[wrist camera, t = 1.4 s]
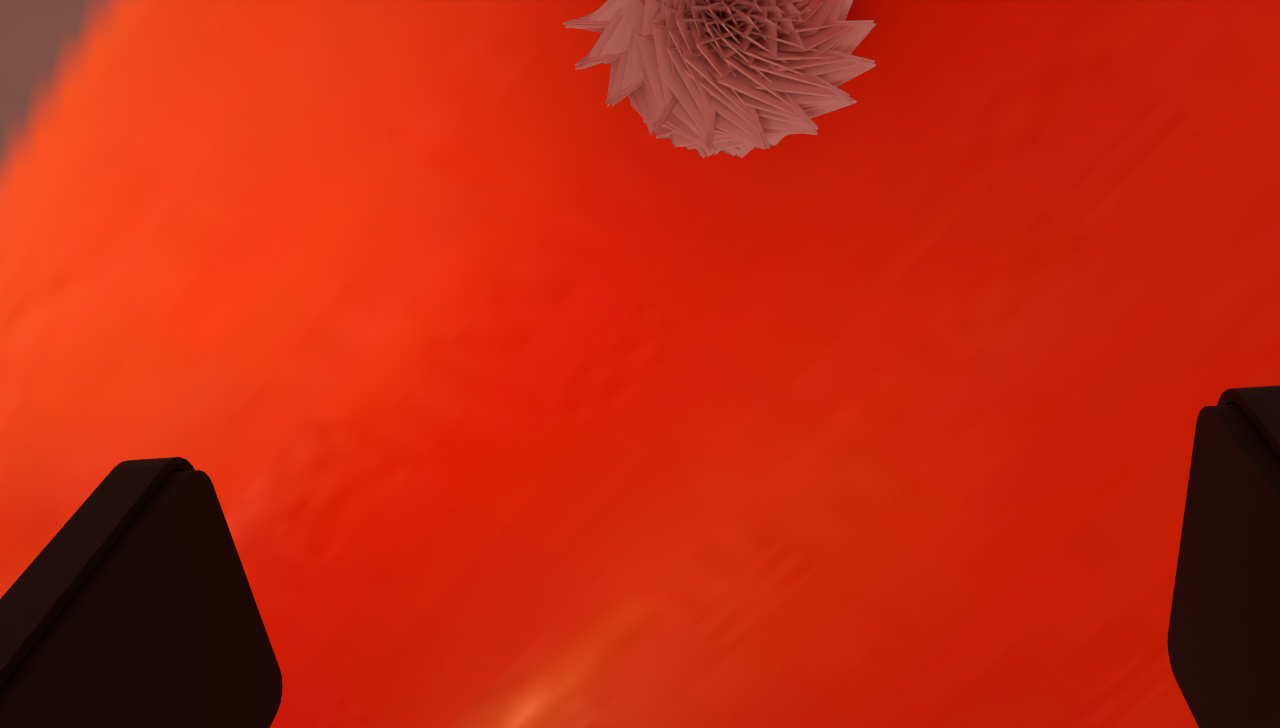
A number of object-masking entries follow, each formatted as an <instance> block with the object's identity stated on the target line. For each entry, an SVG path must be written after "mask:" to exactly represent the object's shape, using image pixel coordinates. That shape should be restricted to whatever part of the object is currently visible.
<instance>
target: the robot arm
mask: <svg viewBox="0 0 1280 728" xmlns="http://www.w3.org/2000/svg"><path fill="white" fill-rule="evenodd" d="M1168 653H1169V659H1170V664H1171V667H1172V671H1173V674H1174V676H1175V679H1176V681H1177V683H1178V685H1179V687H1180V689H1181V691H1182V694H1183V696H1184V698H1185V700H1186V702H1187V704H1188V706H1189V708H1190V710H1191V712H1192V714H1193V716H1194V718H1195V720H1196V723H1197V725H1198V727H1199V728H1280V386H1265V387H1250V388H1234V389H1227V390H1226V391H1225V392H1223V393H1222V395H1221V397H1220V399H1219V401H1218V405H1217V406H1206V407H1204V408H1202V409H1201V411H1200V413H1199V415H1198V419H1197V423H1196V430H1195V438H1194V445H1193V453H1192V460H1191V467H1190V475H1189V482H1188V490H1187V497H1186V504H1185V512H1184V519H1183V527H1182V534H1181V542H1180V549H1179V556H1178V564H1177V571H1176V579H1175V586H1174V593H1173V601H1172V608H1171V616H1170V623H1169V630H1168ZM281 697H282V676H281V672H280V668H279V665H278V663H277V660H276V657H275V654H274V652H273V649H272V646H271V643H270V641H269V638H268V635H267V632H266V630H265V627H264V624H263V621H262V619H261V616H260V613H259V610H258V608H257V605H256V602H255V599H254V597H253V594H252V591H251V588H250V586H249V583H248V580H247V577H246V575H245V572H244V569H243V566H242V564H241V561H240V558H239V555H238V553H237V550H236V547H235V544H234V542H233V539H232V536H231V533H230V531H229V528H228V525H227V522H226V520H225V517H224V514H223V511H222V509H221V506H220V503H219V500H218V498H217V495H216V492H215V489H214V487H213V484H212V482H211V480H210V478H209V476H208V475H207V474H206V473H205V472H203V471H200V470H196V471H195V470H194V468H193V466H192V465H191V464H190V463H189V462H188V461H187V460H186V459H183V458H181V457H173V458H158V459H142V460H129V461H124V462H121V463H120V464H118V465H117V466H116V467H115V468H114V469H113V470H112V471H111V472H110V473H109V474H108V476H107V477H106V478H105V479H104V480H103V481H102V482H101V484H100V485H99V486H98V487H97V488H96V489H95V491H94V492H93V493H92V494H91V495H90V496H89V497H88V499H87V500H86V501H85V502H84V503H83V504H82V506H81V507H80V508H79V509H78V510H77V511H76V512H75V514H74V515H73V516H72V517H71V518H70V519H69V521H68V522H67V523H66V524H65V525H64V526H63V527H62V529H61V530H60V531H59V532H58V533H57V534H56V536H55V537H54V538H53V539H52V540H51V541H50V542H49V544H48V545H47V546H46V547H45V548H44V549H43V550H42V552H41V553H40V554H39V555H38V556H37V557H36V559H35V560H34V561H33V562H32V563H31V564H30V565H29V567H28V568H27V569H26V570H25V571H24V572H23V574H22V575H21V576H20V577H19V578H18V579H17V580H16V582H15V583H14V584H13V585H12V586H11V587H10V589H9V590H8V591H7V592H6V593H5V594H4V595H3V597H2V598H1V599H0V728H270V726H271V724H272V722H273V720H274V718H275V715H276V713H277V711H278V708H279V706H280V702H281Z"/></svg>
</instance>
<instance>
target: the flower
mask: <svg viewBox="0 0 1280 728" xmlns="http://www.w3.org/2000/svg"><path fill="white" fill-rule="evenodd" d="M852 2H853V0H608V1H607V2H606V3H604V4H603V5H602V6H601V7H600V8H599V9H597V10H596V11H594V12H592V13H591V14H589V15H586V16H583V17H580V18H576V19H573V20H570V21H567V22H564V23H563V25H566V26H565V28H576V29H584V30H589V31H593V32H598V33H602V34H601V36H600V37H599V39H598V41H597V42H596V44H595V45H594V47H593V48H592V50H591V51H590V52H589V53H588V54H587V55H585V56H584V57H583V58H582V59H581V60H580V61H578V63H576V64H575V66H577V65H578V66H577V67H575V70H576V69H579V70H581V69H584V68H587V67H591V66H594V65H597V64H600V63H603V64H611V71H610V79H609V87H608V95H607V99H606V103H608V102H609V103H608V105H607V107H608V106H610V105H611V104H612V107H613V106H614V105H615V104H617V103H618V102H619V101H621V100H622V99H623V98H625V97H626V96H627V95H628V97H629V98H630V104H631V105H632V106H633V108H634V109H635V110H636V111H637V112H638V113H639V114H640V116H641V117H642V118H643V122H644V123H646V124H647V127H648V130H649V133H650V135H652V133H653V132H654V133H656V135H657V136H656V139H660V138H670V139H671V142H672V144H673V143H674V147H677V146H679V147H682V146H685V147H686V149H687V148H688V150H689V149H693V148H695V149H696V151H697V152H698V153H699V154H700V156H701V157H702V158H704V157H705V156H707V157H709V156H710V155H712V154H714V155H716V154H718V153H719V152H720V151H722V152H724V153H725V152H726V153H728V154H729V155H731V156H735V155H736V156H738V157H739V158H742V157H744V156H745V155H746V154H747V153H748V152H749V151H751V150H752V149H753V148H754V147H755V148H761V149H764V150H765V148H767V149H769V145H770V146H775V145H776V144H777V143H778V142H779V141H780V140H781V139H782V138H783V137H784V136H786V135H790V134H802V133H804V134H811V135H817V134H818V133H817V132H816V131H818V126H817V125H816V124H815V123H814V122H813V121H812V120H811V118H814V117H817V116H820V115H823V114H826V113H828V112H831V111H834V110H837V109H840V108H843V107H846V106H849V105H852V104H854V103H856V102H857V101H856V100H854V99H852V98H851V97H850V95H849V94H848V93H846V92H844V91H843V90H841V89H839V88H837V87H838V86H839V85H841V84H843V83H845V82H847V81H849V80H851V79H853V78H854V77H856V76H858V75H860V74H862V73H864V72H866V71H868V70H869V69H871V68H873V67H875V66H876V64H873V63H874V62H875V61H874V60H870V59H866V58H862V57H858V56H854V55H850V54H851V53H852V52H853V51H854V50H855V49H856V47H857V46H858V45H859V44H860V43H861V42H862V40H863V39H864V38H865V37H866V36H867V35H868V33H869V32H870V31H871V30H872V29H873V28H874V27H875V26H876V24H877V23H874V20H873V21H872V20H854V21H845V20H846V17H847V15H848V12H849V10H850V7H851V5H852ZM606 103H605V104H606Z"/></svg>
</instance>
